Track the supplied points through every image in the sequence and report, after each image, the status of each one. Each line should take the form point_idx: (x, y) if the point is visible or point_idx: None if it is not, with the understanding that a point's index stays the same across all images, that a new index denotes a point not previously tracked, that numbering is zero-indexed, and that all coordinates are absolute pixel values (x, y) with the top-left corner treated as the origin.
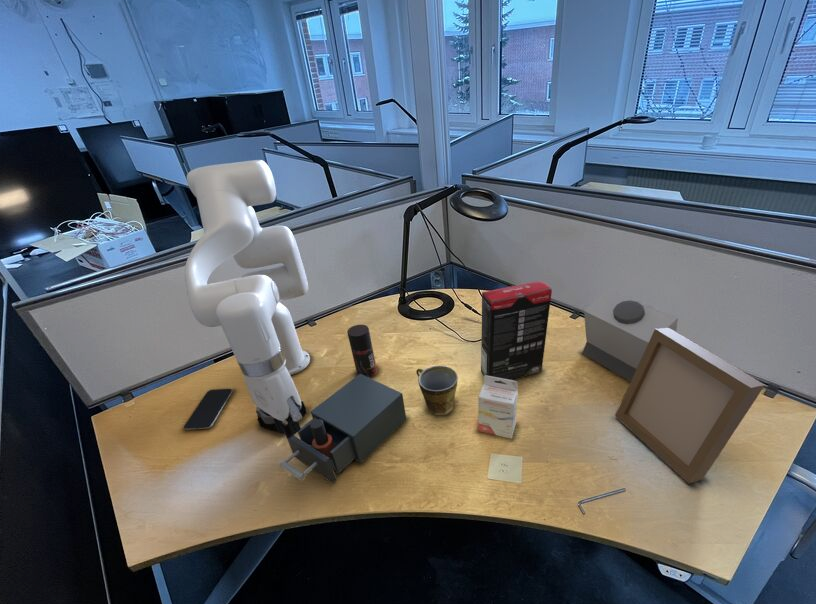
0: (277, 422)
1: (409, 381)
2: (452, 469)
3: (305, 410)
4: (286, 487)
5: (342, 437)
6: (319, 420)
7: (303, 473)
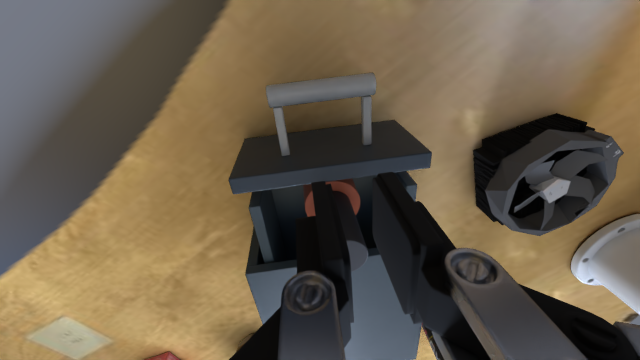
0: (404, 235)
1: None
2: (120, 294)
3: (481, 209)
4: (337, 50)
5: None
6: None
7: (277, 107)
